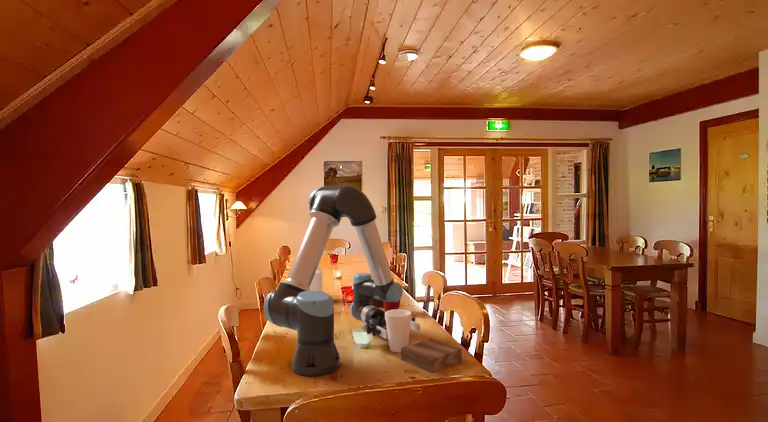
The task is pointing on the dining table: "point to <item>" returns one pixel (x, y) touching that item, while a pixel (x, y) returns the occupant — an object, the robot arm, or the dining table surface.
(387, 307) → the plastic cup
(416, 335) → the dining table surface
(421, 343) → the walnut plinth
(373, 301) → the muffin
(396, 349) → the foam cup
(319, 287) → the bottle
